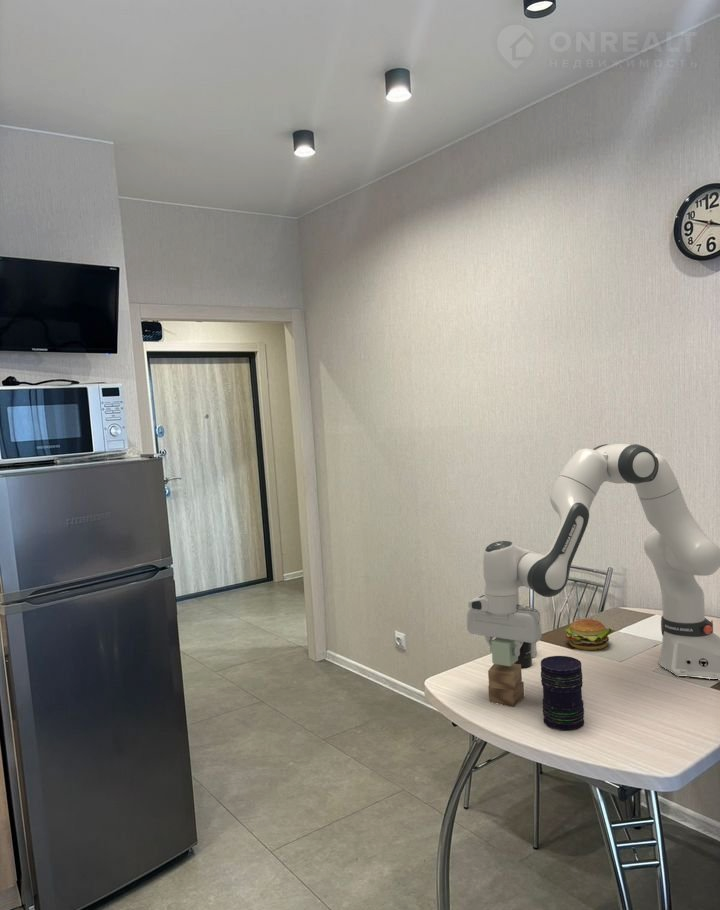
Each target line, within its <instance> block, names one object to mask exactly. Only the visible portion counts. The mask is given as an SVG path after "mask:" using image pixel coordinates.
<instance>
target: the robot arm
mask: <svg viewBox="0 0 720 910" xmlns="http://www.w3.org/2000/svg"><path fill="white" fill-rule="evenodd" d="M605 482H609V483H611V484H612V483H613V484H631V485H634V487H635V491H636V493H637V496H638V500H639V501H640V505H641V507H642V509H643V512H644V515H645V517H646V520H647V522H648V523H649V524H650V525H651V527H653V528H654V529H655V530H652V531H651V532H649V533H648V534H647V535H646V537H645V538H644V539H645V540H644V543H643V548H644V549H643V550H644V552H645V554H646V556H647V557H648V559H649V560H650V561H651V563H652V566H653V567H654V571H655V573H656V576H657V579H658V582H659V587H660V592H661V593H660V594H661V605H662V616H661V619H660V631H661V635H662V642H661V649H660V656H659V659H658V662H659V663H658V665H659V664H660V665H661V666H662V667H664V668H666V669H668V670H670V671H672V672H673V673H674V674H676V675H687V676H702V677H711V678H717V679H720V636H719V635H717V634H716V633H715V632H714V621H713V620H711V621H710V620H709V619H707V618H706V617H705V616H706V615H705V614H706V613H705V594H704V590H703V589H702V587H701V586H700V584H699V583H698V581H697V580H696V577H695V576H701V577H702V576H703V577H704V576H710V575H711V576H712V575H713V574H714V573H716V572H717V571H718V570H719V569H720V547H719V546H718V545H717V544H716V543H715V542H714V541H713V540H711V538H710V537H708V536H707V534H706V533H705V532H704V530H703V529H702V528H701V526H700V525H699V524H698V522H697V521H696V519H695V518H694V516H693V515H692V512H690V510H689V508H688V506H687V503H686V501H685V497H684V496H683V493H682V490H681V488H680V485H679V483H678V480H677V478H676V475H675V474H674V472H673V470H672V467H671V466H670V464H669V462H668V461H667V459H666V458H665V456H663V455H662V454H660V453H656V452H653V451H652V450H651V449H649V447H646V446H644V445H642V444H635V443H634V444H631V443H621V442H620V443H615V444H614V443H613V444H608V443H607V444H600V445H598V446H596V447H594V448H580V449H579V450H577V451H575V453H574V454H573V455H572V456H571V458H569V460H568V461H567V463H566V464H565V465H564V467H563V468H562V470H561V471H560V473H559V475H558V476H557V478H556V479H555V481H554V483H553V485H552V488H551V489H550V494H549V500H550V501H549V502H550V504H551V506H552V508H553V510H554V512H556V514H557V515H558V516H559V520H560V525H559V528H558V530H557V533H556V535H555V537H554V540H553V542H552V544H551V546H550V549H549V551H548V552H546V553H545V554H542V553H540V552H537V551H534V550H531V549H526V548H523V547H520V546H518V545H516V544H514V543H513V542H512V541H509V540H497V541H495V542H491V543H490V544H489V545H487V546H486V547H485V549H484V552H483V560H482V561H483V562H482V563H483V566H482V567H483V579H484V582H485V588H484V594H481V595H478V596H476V597H474V598H472V599H471V600H469V601H468V602H467V603H468V605H467V606H468V608H469V610H468V611H467V614H466V615H467V616H466V628H467V629H466V630H467V631H468V633H470V634H471V635H478V636H483V637H484V636H485V637H484V639H485V641H486V643H487V645H488V646H489V652H490V653H492V643H491V641H492V640H493V639H494V638H502V639H509V640H515V644H517V646H516V648H514V649H512V656H516V657H518V656H519V655H520V648H521V646H522V644H523V642H528V643H536V644H537V643H538V642H539V641H540V640H541V639H542V636H543V635H542V628H541V627H542V626H541V614H540V612H539V610H538V609H536V608H535V607H534V606H530V605H529V606H527V605H523V604H520V597H519V594H520V593H519V588H521V587H526V588H527V589H529V590H532V591H534V593H536V594H538V595H539V596H541V597H544V598H545V597H546V598H551V597H552V598H553V597H554V596H557V595H559V594H561V592H562V591H564V589H565V588H566V586H567V584H568V581H569V577H570V571H571V567H572V564H573V560H574V558H575V556H576V553H577V551H578V549H579V546H580V544H581V541H582V538H583V537H584V534H585V533H586V529H587V526H588V525H589V519H590V508H591V506H592V503H593V502H594V500H595V498H596V496H597V494H598V493H599V490H600V488H601V486H603V484H604V483H605ZM660 665H659V666H660ZM661 666H660V667H661ZM662 667H661V668H662ZM664 668H663V669H664ZM666 669H665V670H666ZM668 670H667V671H668ZM670 671H669V672H670Z"/></svg>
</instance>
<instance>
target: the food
mask: <svg viewBox="0 0 720 910" xmlns="http://www.w3.org/2000/svg"><path fill="white" fill-rule="evenodd" d="M564 630H565V638H566V639H568V641H569V645H570V646H571V647H573V648H576V649H579V650H584V651H597V649H598V650H601V649H604V648H606V647H608V646H607V645H608V642H609V640H610V639H609V636H608V635H610V634H611V633H612V629H611V628H606V626H605V625H604V624H603V623H602V622H601V621H599V620H597V619H593V618H580V619H577V620H576V619H575V620H574V621H572V622H571V624H570V625H569V626H567V628H564Z"/></svg>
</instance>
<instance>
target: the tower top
mask: <svg viewBox="0 0 720 910" xmlns="http://www.w3.org/2000/svg"><path fill="white" fill-rule="evenodd" d="M487 673H488V674H487V675H488V676H487V677H488V686H489V687H490V688H498V689H506V690H513V691H515V690H516V689H517V687H518V686H519V684H520V683H521V681H522V680H523V677H522V668H521V664H512V665H511V666H505V665H499V664H494V663H492V665H491V667H490V668H489V669H488V670H487ZM522 682H523V681H522Z"/></svg>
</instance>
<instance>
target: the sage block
mask: <svg viewBox="0 0 720 910" xmlns="http://www.w3.org/2000/svg"><path fill="white" fill-rule="evenodd" d="M491 643H492V652H491V657H492V661H491V662H492V664H499V665H505V666H511V665H512V664H514V663H515V662H516V661H518V657H516V656H512V649H514V648H516V646H517V644H515V640H509V639H502V638H496V637H494V638H493V639H492V641H491Z"/></svg>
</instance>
